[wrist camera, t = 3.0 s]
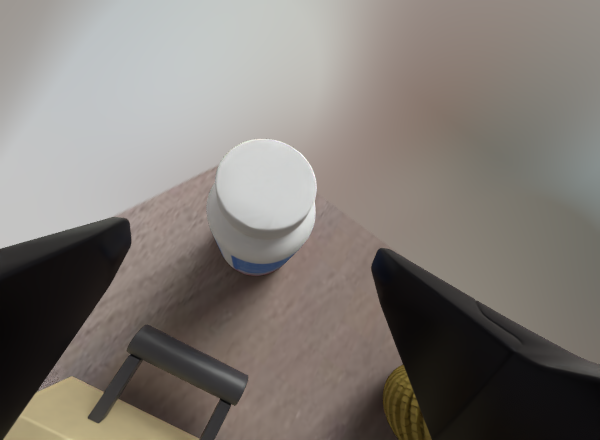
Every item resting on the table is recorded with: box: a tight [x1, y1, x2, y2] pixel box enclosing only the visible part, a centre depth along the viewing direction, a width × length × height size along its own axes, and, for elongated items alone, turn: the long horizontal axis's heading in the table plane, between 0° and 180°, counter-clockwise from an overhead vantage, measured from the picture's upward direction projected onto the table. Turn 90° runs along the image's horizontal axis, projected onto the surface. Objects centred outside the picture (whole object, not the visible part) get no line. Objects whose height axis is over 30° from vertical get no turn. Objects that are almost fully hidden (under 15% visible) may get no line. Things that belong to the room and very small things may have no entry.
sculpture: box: [383, 365, 432, 440], centre depth 14 cm, size 8×4×8 cm, turn 93°
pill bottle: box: [207, 139, 317, 276], centre depth 14 cm, size 6×5×10 cm
